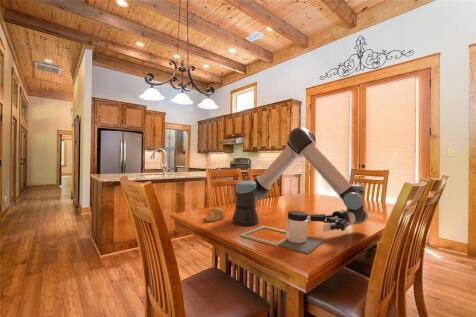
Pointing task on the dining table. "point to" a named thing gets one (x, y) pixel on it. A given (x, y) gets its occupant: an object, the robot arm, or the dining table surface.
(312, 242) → the mat
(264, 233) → the dining table surface
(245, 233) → the frame
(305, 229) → the jar
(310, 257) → the dining table surface
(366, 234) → the dining table surface
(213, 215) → the croissant
